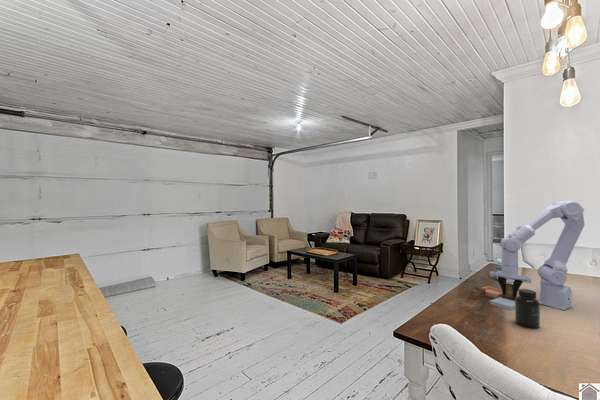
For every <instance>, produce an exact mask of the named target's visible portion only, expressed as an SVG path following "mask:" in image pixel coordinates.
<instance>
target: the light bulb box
mask: <svg viewBox="0 0 600 400" xmlns="http://www.w3.org/2000/svg"><path fill="white" fill-rule="evenodd" d="M496 272H501V273H502V257H501V258H499V257H498V258H497V260H496ZM497 279H498V277H496V280H497ZM506 283H509V284H513V280H511V279H507V280H506Z"/></svg>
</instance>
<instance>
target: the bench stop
mask: <svg viewBox="0 0 600 400" xmlns="http://www.w3.org/2000/svg"><path fill="white" fill-rule="evenodd" d="M484 297H486V295H485V289H484V288H483V287H480V286H475V288H474V289H471V290H470V299H472V300H478V299H481V298H484Z"/></svg>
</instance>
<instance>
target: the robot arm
mask: <svg viewBox="0 0 600 400" xmlns="http://www.w3.org/2000/svg"><path fill="white" fill-rule="evenodd" d="M584 212H585V209H584V208H583V206H582V205H581V204H580V203H579V202H577V200H556V201H553V203H552V204H550V205H548V206H547V207H546V208H545V209H544V210H543V211H541V213H540V214H538V215H537V216H536V217H535V218H534V219H533V220H531V221H530V222H529V223H528V224H522V225H518V226H517V227H516V229H515V230H514V231H512V233H508V234H507V236H505V237H503V238H502V239H501V241H500V242H499V246H500V247H501V250H502V251H501V259H502V273H501V272H497V271H493V270H492V271H490V272H489V277H493V278H496V281H497V282H498V284H499V287H500V289H501V290H502V292H503V295H505V284H506V283H507V282H506V280H507V279H511V280H512V284H513V285H514V295H513V296H514V297H515V298H516V297H518V293H519V289H521V288H520V287H521V286H522V284H523V283H527V284H531V283H532V277H529V276H528V277H527V276H524V275H519V250H521V247H522V245H523V244H525V243H526V242H527V241H529V240H530V239H531V238H533V237H534V236H535V234H536V230H537V229H539V228H540V227H542V226H543V225H545V224H546V223H548V222H549V221H551V220H552V219H557V218H560V219H561V221H562V222H563V223H564V227H563V229H562V231H561V233H560V235H559V237H558V239H557V242H556V243H555V246H554V248H553V250H552V252H551V254H550V257H549V258H548V259H546V260H544V262H543V264H542V265H540V266H539V267H538V269H537V274H538V277H540V280H539V281H540V284H539V285H540V286H539V287H540V289H539V290H540V292H539V294H540V295H539V296H540V297H539V300H538V301H539V303H540V305H544V306H548V307H550V308H555V309H559V310H563V311H566V310H569V308H572V307H573V305H572V301H573V300H572V295H573V294H572V288H571V287H570V286H566V285H565V283H566V282H567V278H568V277H567V273H568V271H569V270H568V267H567V263H568V261H569V259H570V257H571V254H572V252H573V250H574V248H575V245H576V244H577V242H578V240H579V237H580V236H581V233H582V232H583V229H584V227H585V218H584ZM497 277H498V279H497Z"/></svg>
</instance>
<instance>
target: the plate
mask: <svg viewBox="0 0 600 400" xmlns="http://www.w3.org/2000/svg"><path fill="white" fill-rule="evenodd" d="M489 305H491V306H495V307H499V308H501V309H504V310H508V311H515V301H512V300H508V299H504V298H501V297H499V298H493V299H491V300H489Z"/></svg>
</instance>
